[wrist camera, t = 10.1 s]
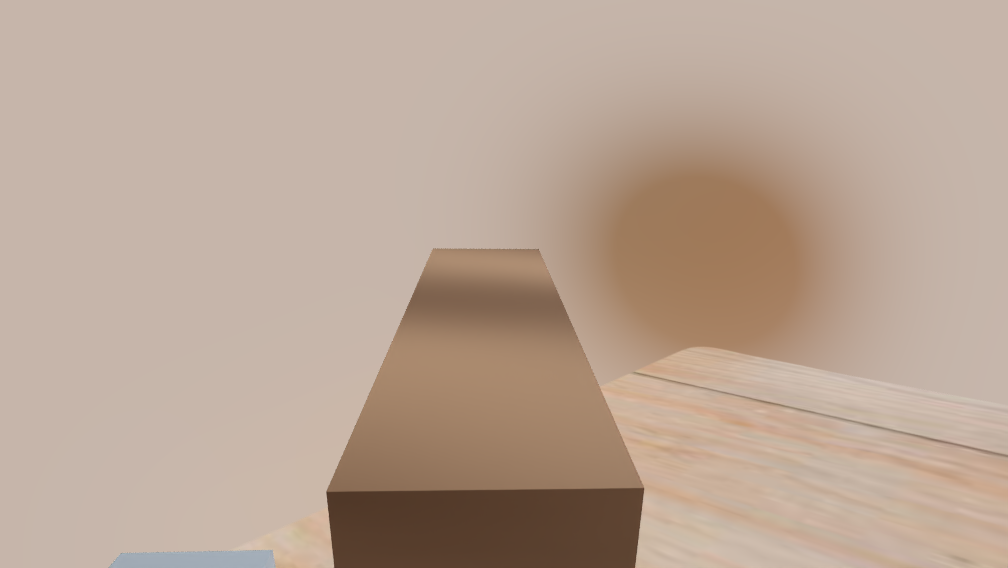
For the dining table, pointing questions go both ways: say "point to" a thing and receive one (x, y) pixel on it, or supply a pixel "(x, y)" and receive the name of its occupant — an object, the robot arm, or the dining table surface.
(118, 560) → the rack
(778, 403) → the dining table surface
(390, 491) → the walnut board
